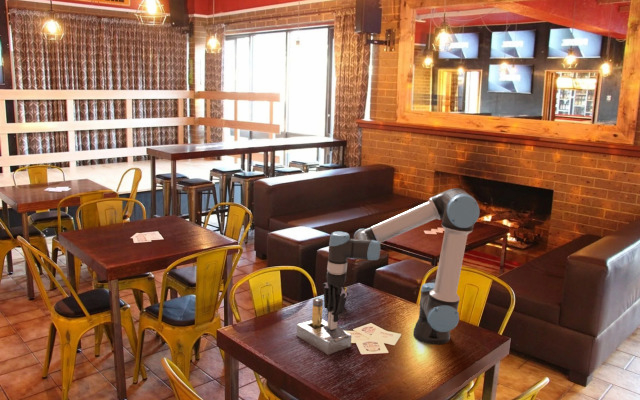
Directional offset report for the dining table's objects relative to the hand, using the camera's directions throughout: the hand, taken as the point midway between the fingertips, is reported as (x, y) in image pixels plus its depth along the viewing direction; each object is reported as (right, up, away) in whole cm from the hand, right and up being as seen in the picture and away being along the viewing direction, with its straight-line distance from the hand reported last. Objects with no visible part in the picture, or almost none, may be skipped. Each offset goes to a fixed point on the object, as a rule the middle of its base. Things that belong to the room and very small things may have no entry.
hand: (332, 327), depth 225 cm
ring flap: (+1, -2, -1) cm, 3 cm away
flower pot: (+2, 0, +40) cm, 40 cm away
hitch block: (-3, -7, +6) cm, 10 cm away
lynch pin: (-6, -6, +9) cm, 13 cm away
